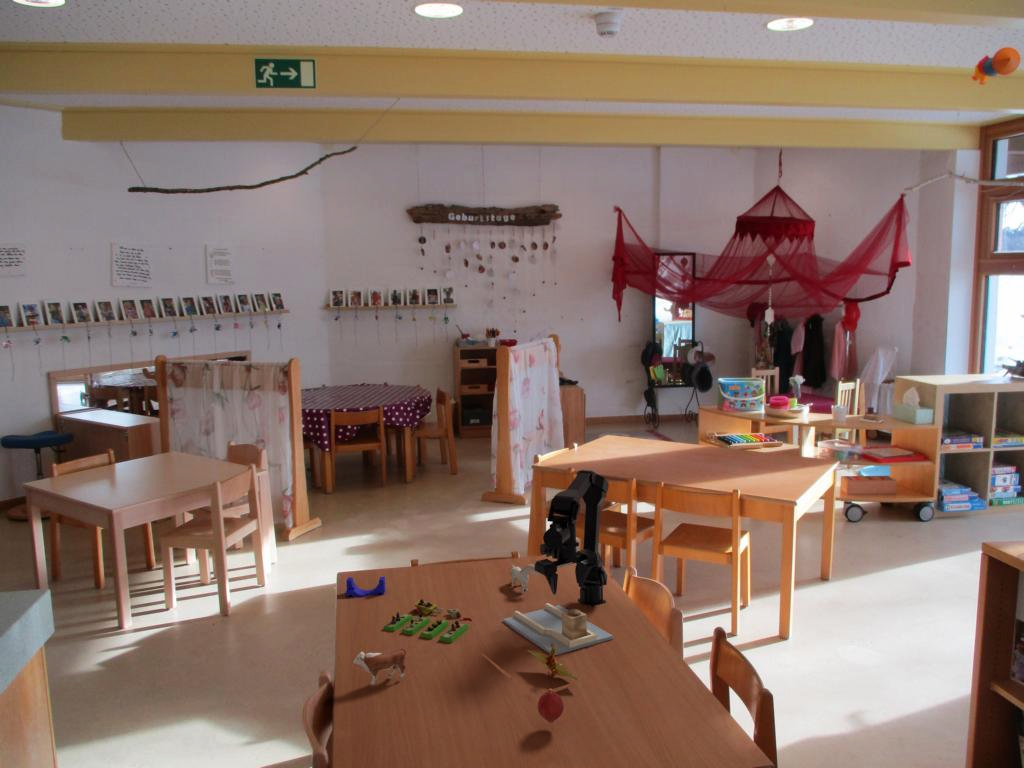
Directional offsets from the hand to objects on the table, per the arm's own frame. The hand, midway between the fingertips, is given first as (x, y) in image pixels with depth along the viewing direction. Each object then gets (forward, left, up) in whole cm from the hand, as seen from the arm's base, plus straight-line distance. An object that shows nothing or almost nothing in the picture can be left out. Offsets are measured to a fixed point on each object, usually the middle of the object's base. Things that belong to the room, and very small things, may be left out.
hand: (567, 590), depth 230 cm
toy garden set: (+31, -25, -12) cm, 42 cm away
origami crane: (+21, +18, -12) cm, 30 cm away
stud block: (+3, +8, -10) cm, 14 cm away
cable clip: (+41, -57, -12) cm, 71 cm away
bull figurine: (+57, +1, -12) cm, 59 cm away
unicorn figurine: (-4, -32, -12) cm, 35 cm away
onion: (+32, +41, -12) cm, 53 cm away
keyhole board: (+3, -1, -11) cm, 12 cm away
